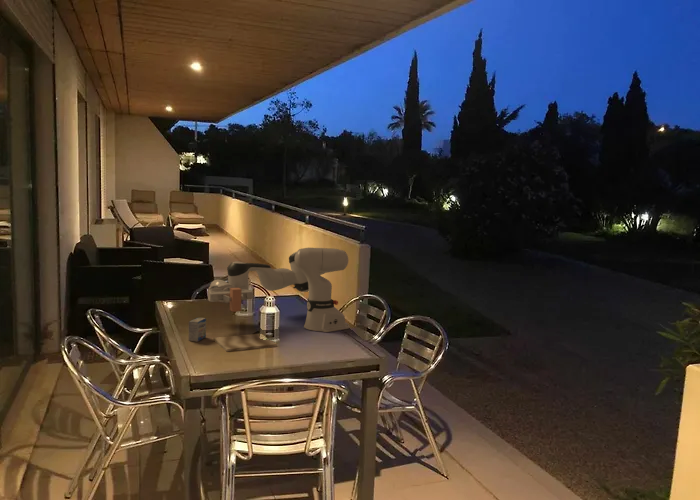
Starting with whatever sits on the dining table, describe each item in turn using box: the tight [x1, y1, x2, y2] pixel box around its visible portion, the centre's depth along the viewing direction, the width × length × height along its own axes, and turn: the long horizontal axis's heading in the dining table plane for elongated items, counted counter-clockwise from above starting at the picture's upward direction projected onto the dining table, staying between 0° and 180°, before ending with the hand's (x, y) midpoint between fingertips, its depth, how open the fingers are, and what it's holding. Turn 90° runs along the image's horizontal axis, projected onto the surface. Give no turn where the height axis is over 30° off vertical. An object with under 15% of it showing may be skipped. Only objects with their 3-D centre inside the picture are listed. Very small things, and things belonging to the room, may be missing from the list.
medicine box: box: [188, 317, 207, 342], centre depth 245 cm, size 8×4×9 cm, turn 168°
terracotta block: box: [228, 288, 242, 313], centre depth 253 cm, size 4×4×10 cm
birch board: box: [213, 333, 278, 353], centre depth 243 cm, size 22×18×1 cm
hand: (236, 298), depth 252 cm, fingers closed on terracotta block, 4 cm apart
